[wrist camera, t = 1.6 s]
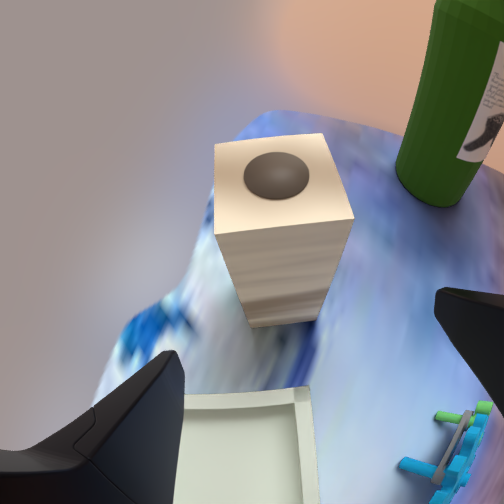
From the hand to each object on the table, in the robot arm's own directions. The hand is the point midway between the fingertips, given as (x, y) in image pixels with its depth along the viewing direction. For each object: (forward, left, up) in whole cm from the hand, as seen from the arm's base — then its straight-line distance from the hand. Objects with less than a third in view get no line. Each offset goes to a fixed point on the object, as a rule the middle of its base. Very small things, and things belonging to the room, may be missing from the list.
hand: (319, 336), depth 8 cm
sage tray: (-8, +6, -12) cm, 16 cm away
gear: (-11, -10, -13) cm, 20 cm away
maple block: (+6, +1, -12) cm, 14 cm away
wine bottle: (+17, -18, -13) cm, 28 cm away
